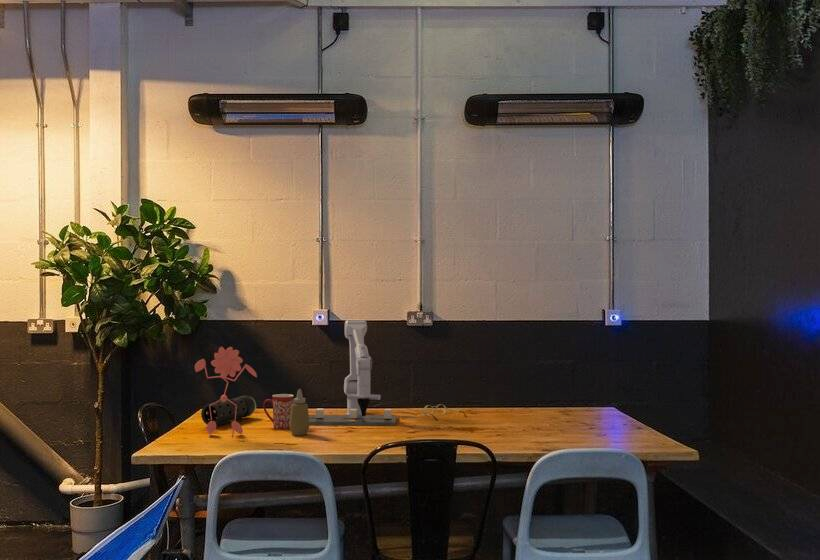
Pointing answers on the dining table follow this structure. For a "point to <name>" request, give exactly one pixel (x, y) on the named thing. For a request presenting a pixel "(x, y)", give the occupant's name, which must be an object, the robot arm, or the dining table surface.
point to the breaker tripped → (353, 413)
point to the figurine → (225, 365)
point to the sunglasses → (437, 411)
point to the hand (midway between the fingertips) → (363, 415)
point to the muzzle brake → (228, 410)
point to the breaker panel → (353, 420)
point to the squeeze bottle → (299, 416)
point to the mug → (280, 410)
